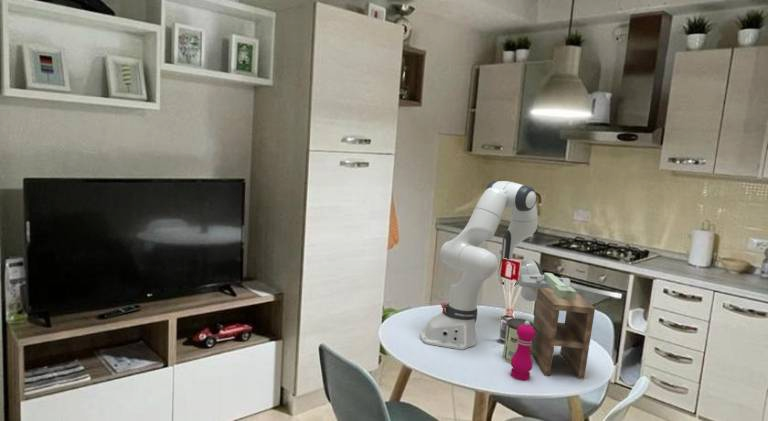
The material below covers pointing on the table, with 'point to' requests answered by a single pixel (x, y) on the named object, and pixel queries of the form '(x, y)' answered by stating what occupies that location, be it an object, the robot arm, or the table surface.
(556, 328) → the walnut shelf
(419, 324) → the table surface
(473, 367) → the table surface
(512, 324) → the coffee can
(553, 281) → the green bar
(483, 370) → the table surface
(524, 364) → the pepper mill
